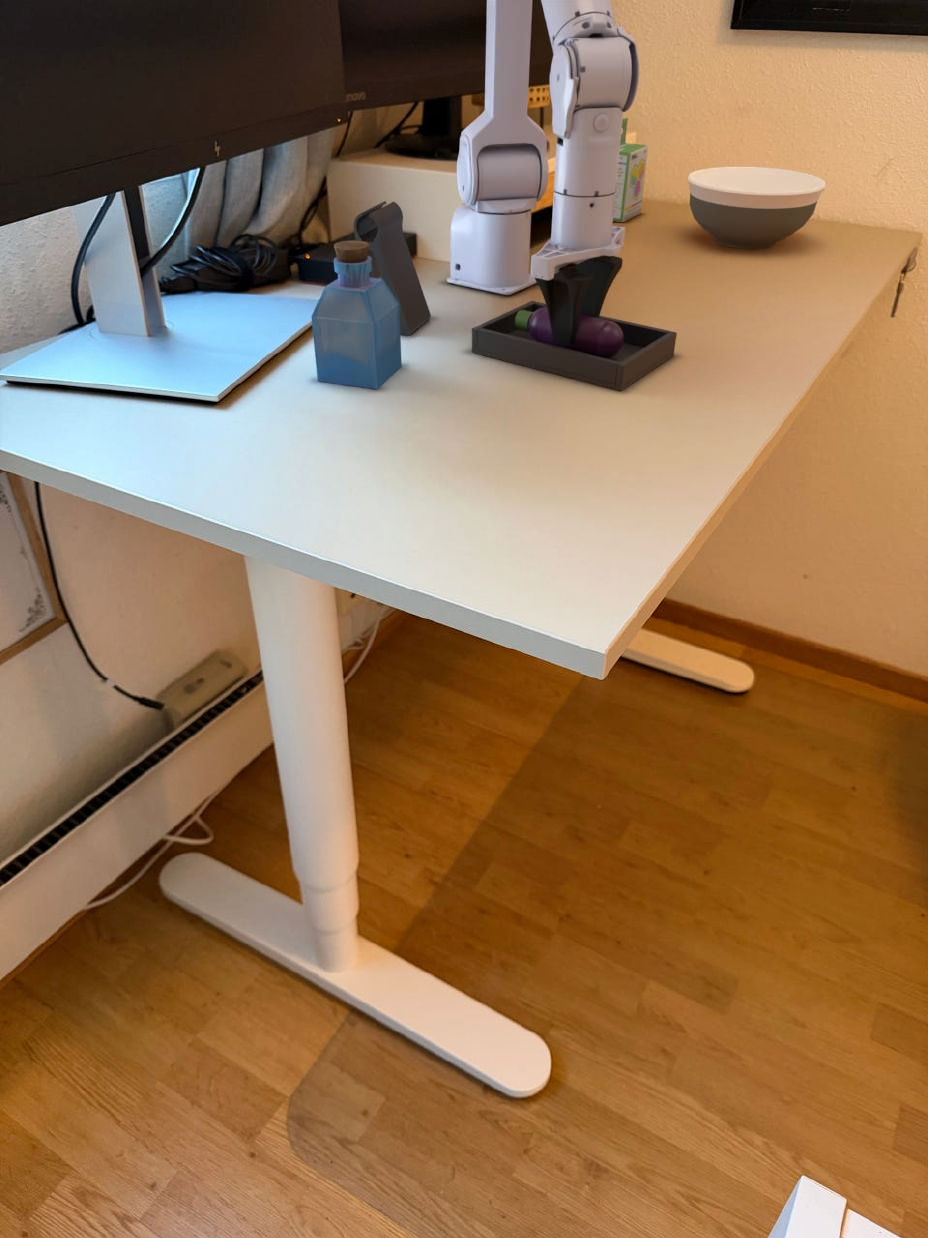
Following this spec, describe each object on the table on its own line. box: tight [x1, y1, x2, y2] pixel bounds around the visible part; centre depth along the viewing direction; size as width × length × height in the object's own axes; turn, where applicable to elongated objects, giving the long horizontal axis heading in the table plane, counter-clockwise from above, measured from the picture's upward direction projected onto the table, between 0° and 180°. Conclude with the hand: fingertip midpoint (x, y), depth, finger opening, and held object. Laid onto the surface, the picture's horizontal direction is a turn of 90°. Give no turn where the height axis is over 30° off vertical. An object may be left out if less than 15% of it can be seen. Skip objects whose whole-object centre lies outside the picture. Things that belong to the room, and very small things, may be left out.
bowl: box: [687, 166, 827, 250], centre depth 127 cm, size 19×19×8 cm
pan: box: [471, 300, 678, 392], centre depth 91 cm, size 17×11×2 cm, turn 54°
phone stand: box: [353, 200, 432, 336], centre depth 96 cm, size 9×6×12 cm, turn 70°
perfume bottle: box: [311, 240, 403, 390], centre depth 84 cm, size 6×6×12 cm
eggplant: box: [515, 307, 624, 358], centre depth 91 cm, size 12×4×4 cm, turn 54°
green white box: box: [613, 117, 649, 223], centre depth 137 cm, size 7×4×13 cm, turn 149°
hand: (573, 336), depth 91 cm, fingers closed on eggplant, 3 cm apart
